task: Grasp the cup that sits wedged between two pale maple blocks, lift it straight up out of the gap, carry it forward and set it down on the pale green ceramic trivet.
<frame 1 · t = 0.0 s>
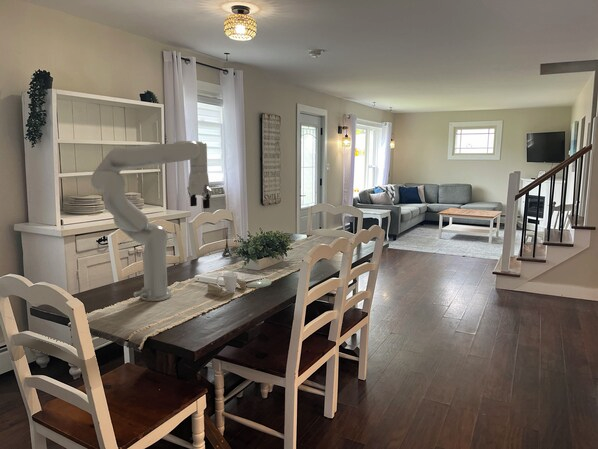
hand: (199, 207, 207), 37 cm above the table, tool pointing down, fingers open, 9 cm apart
eiffel tower figurine: (227, 256, 268), on the table
cup: (227, 291, 205), on the table
maple blocks: (227, 290, 205), on the table
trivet: (256, 283, 216), on the table
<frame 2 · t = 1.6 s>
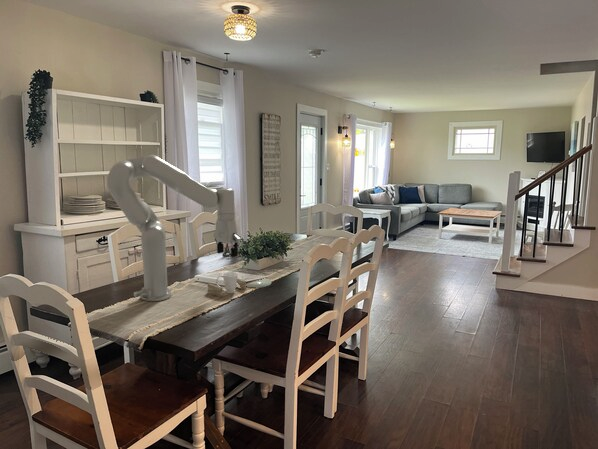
hand: (227, 254, 202), 17 cm above the table, tool pointing down, fingers open, 9 cm apart
nothing on the table moved.
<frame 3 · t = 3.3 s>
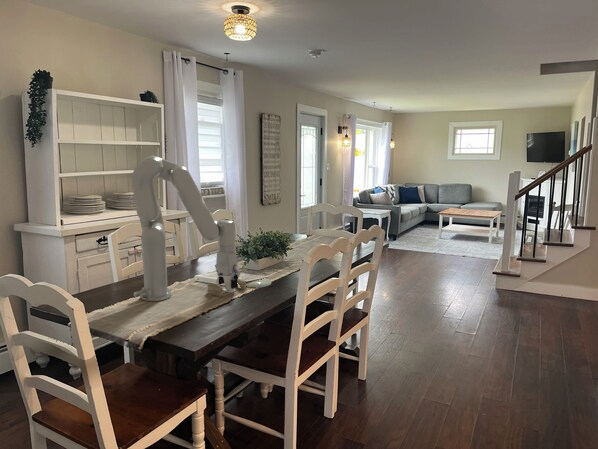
hand: (227, 285, 204), 2 cm above the table, tool pointing down, fingers closed on cup, 8 cm apart
cup: (227, 291, 205), on the table, touching gripper
everything else where it was.
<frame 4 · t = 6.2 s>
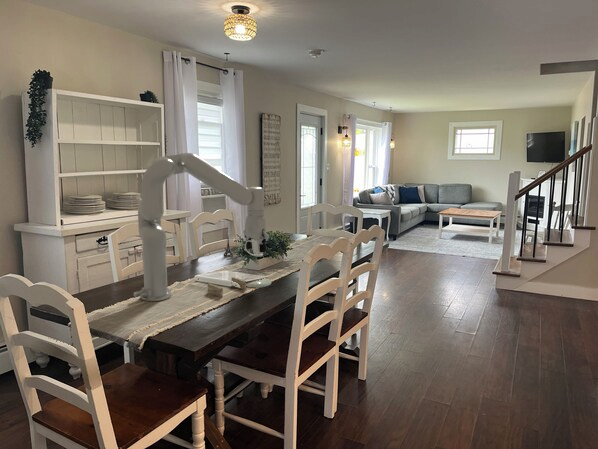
hand: (256, 250, 213), 16 cm above the table, tool pointing down, fingers closed on cup, 8 cm apart
cup: (255, 255, 214), point 13 cm above the table, touching gripper
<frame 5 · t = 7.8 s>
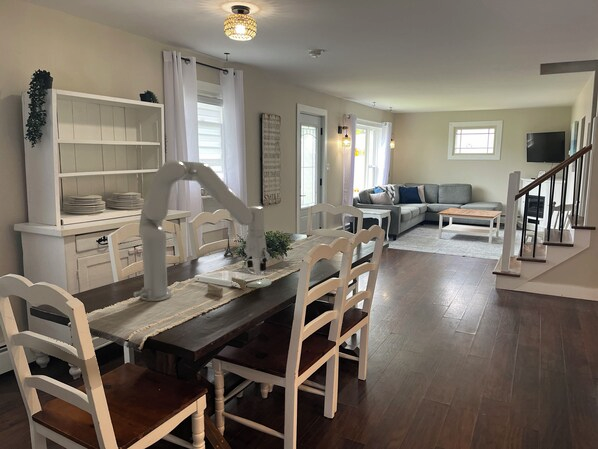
hand: (256, 268, 215), 7 cm above the table, tool pointing down, fingers closed on cup, 8 cm apart
cup: (256, 274, 215), point 4 cm above the table, touching gripper
when the fingers open (4 cm above the table, at t = 9.1 s): cup stays where it is, resting on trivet.
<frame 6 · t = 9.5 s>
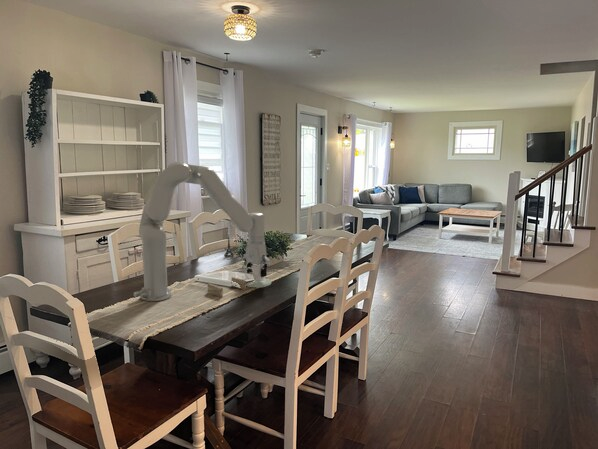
hand: (256, 274, 216), 4 cm above the table, tool pointing down, fingers open, 9 cm apart
cup: (255, 282, 216), resting on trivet, touching gripper
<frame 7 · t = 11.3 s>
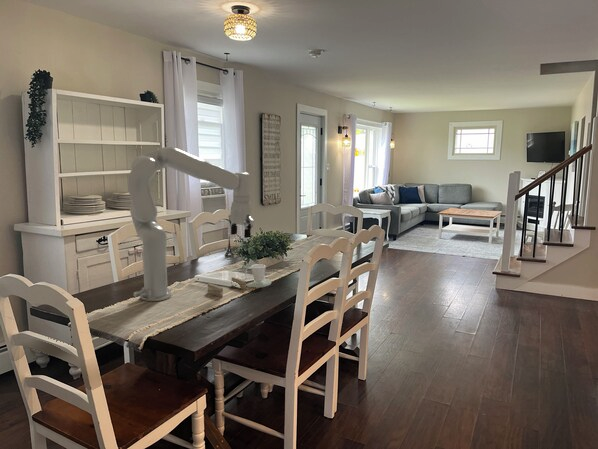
hand: (240, 235, 212), 23 cm above the table, tool pointing down, fingers open, 9 cm apart
cup: (255, 282, 216), resting on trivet
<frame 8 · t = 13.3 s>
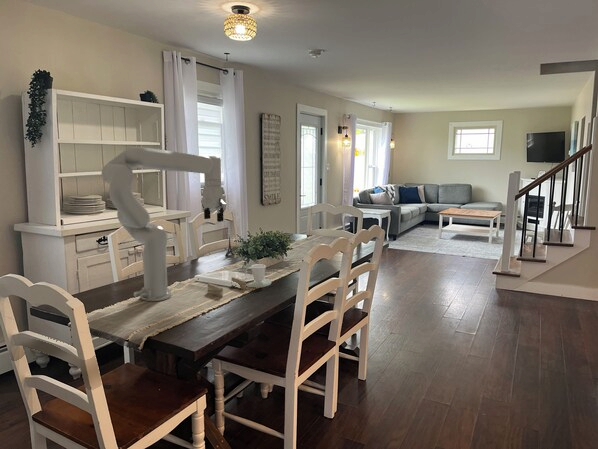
hand: (213, 219, 211), 30 cm above the table, tool pointing down, fingers open, 9 cm apart
at the end: cup 0.6 cm from the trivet (horizontally); cup tilted 0°; cup resting on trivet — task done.
